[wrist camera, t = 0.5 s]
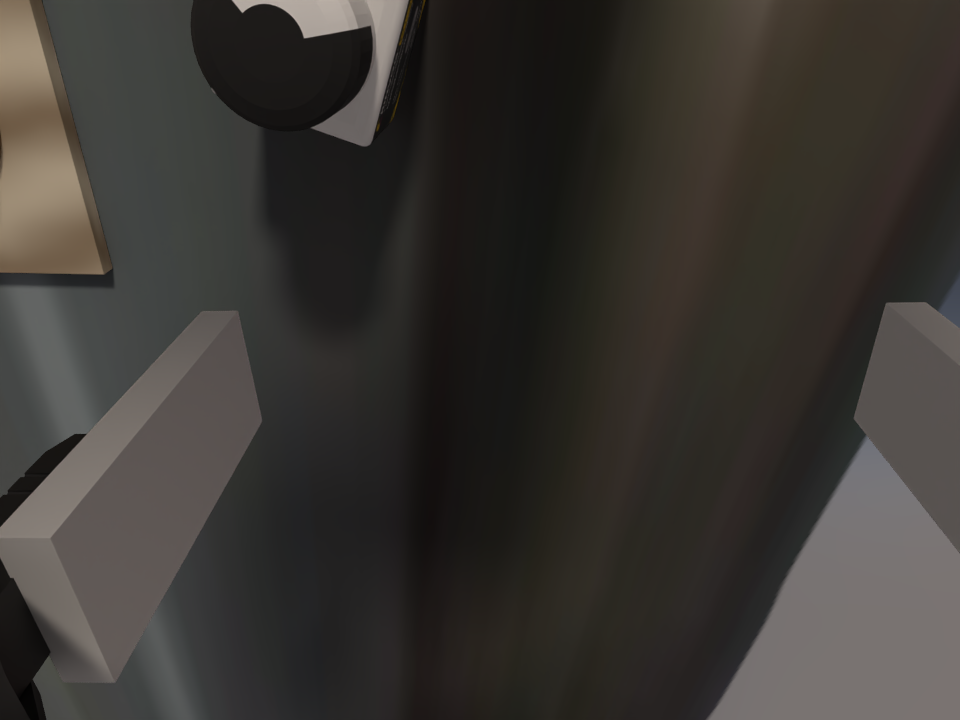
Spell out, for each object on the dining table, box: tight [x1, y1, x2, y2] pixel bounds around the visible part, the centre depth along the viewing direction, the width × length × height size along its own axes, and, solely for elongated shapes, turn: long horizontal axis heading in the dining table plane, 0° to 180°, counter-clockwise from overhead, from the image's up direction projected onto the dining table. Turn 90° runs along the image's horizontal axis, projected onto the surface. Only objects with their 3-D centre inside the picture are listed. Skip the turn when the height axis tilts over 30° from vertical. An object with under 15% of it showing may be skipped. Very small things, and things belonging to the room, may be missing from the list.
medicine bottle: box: [191, 0, 425, 146], centre depth 29 cm, size 7×7×12 cm
